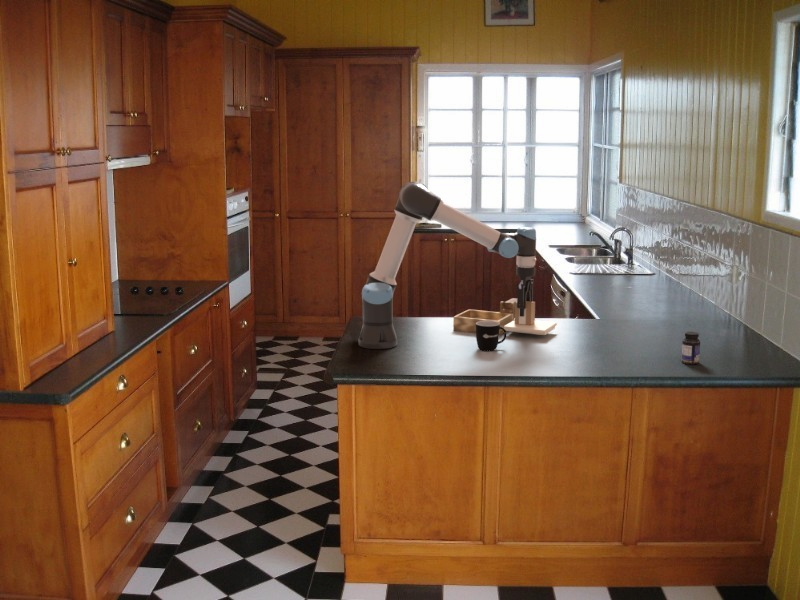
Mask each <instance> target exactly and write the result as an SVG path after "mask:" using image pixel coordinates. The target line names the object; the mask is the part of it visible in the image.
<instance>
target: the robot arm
mask: <svg viewBox="0 0 800 600" xmlns="http://www.w3.org/2000/svg"><path fill="white" fill-rule="evenodd" d="M394 213H395V217H394V220H393V223H392V224H391V225H392V226H391V228H390V231H389V233H388V236H387V238H386V241H385V244H384V246H383V248H382V251H381V254H380V257H379V259H378V262H377V265H376V266H375V269H374V271H372V272H370V273H369V275H368V276H367V279H366V283H365V284H364V286H363V287H362V289H361V300H362V327H361V331H360V332H359V337H358V346H359V347H361V348H364V349H368V350H369V349H371V350H386V349H391V348H394V347H396V346H398V338H397V333H396V331H395V328H394V323H393V321H394V320H393V319H394V317H393V315H394V314H393V313H394V311H393V308H394V307H393V302H394V300H393V298H394V292H395V290H396V287H397V284H398V283H397V281H396V277H397V274H398V272H399V269H400V266H401V264H402V262H403V259H404V257H405V253H406V251H407V249H408V246H409V244H410V241H411V238H412V235H413V233H414V231H415V227H416V224H417V223H419V222H422V220H423V219H426V220H427V221H430V222H431V221H436V222H437V223H440V225H441V224H442V225H443V226H445V227H447V228H449V229H451V230H452V231H455V232H457V233H459V234H460V235H463V236H464V237H466V238H469V239H471V240H472V241H474V242H476V243H478V244H480V245H482V246H484V247H486V248H487V251H488V252H490V253H492V252H493V253H497V254H499V255H500V256H501V257H503V258H506V259H511V258H514V257H515V256H516V261H515V262H516V273H515V274H516V276H517V277H520V279H519V281H518V283H517V284H516V288H517V294H516V295H517V308H519V324H526V308H525V305H526V301H532V302H534V301H533V300H534V299H533V298H534V297H533V296H534V282H535V281H534V278H532V277H535V276H536V267H535V266H536V261H537V258H536V251H537V231H536V229H535V228H534V227H527V226H524V227H522V226H521V227H518V228H517V230H516V232H510V233H509V232H500V231H499V230H497V229H495V228H493V227H491V226H489V225H488V224H485V223H483V222H482V221H480V220H478V219H476V218H474V217H472V216H470V215H468V214H467V213H465V212H463V211H461V210H459V209H457V208H455V207H453V206H452V205H449V204H447V203H445V202H444V201H443V198H442V197H441V196H438V195H436V194H435V193H433V192H432V191H431V190H430V189H429V188H428V187H427V186H426V185H425V184H424V183H421V181H409V182H407V183H405V184H404V185H402V187H401V189H400V190H399V193H398V199H397V201H396V205H395V208H394Z"/></svg>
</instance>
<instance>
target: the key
mask: <svg viewBox="0 0 800 600" xmlns="http://www.w3.org/2000/svg"><path fill="white" fill-rule="evenodd" d="M513 302H514V303H515V302H517V298H516V297H515V298H514V297H512V298H510V299H508V300H506V301H504V304H503V309H509V310H511V303H513ZM514 309H515V304H514Z"/></svg>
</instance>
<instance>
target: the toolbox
mask: <svg viewBox="0 0 800 600" xmlns="http://www.w3.org/2000/svg"><path fill="white" fill-rule="evenodd" d="M504 304H505V301H503V300H502V301H500V303H499V311H491V310H490V311H488V310H481V309H480V310H478V309H467V310H465V311H462V312H461V313H458V314H456V315H455V316H453V326H452V327H453V330H452V331H453V332H460V333H467V334H468V333H469V334H470V333H471V334H476V323H477V322H480V321H494V322H498V323H499V324H500V327H502V328H504V326H505V325H507V324H508V323H510V322H512V321H514V320H515V308H514V304H515V303H514V302H513V303H511V309H508V308H504ZM503 334H504V331H503V330H502V329H500V330H499V337H500V336H501V335H503Z"/></svg>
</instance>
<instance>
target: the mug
mask: <svg viewBox="0 0 800 600" xmlns="http://www.w3.org/2000/svg"><path fill="white" fill-rule="evenodd" d="M500 329H502V330H503V331H504V333H503V334H504V336H503V337H502V339H501V340H500V341H499V339H500V336H499V330H500ZM475 336H476V337H475V338H476V344H477V348H478V350H479V351H481V350H482V351H481V352H494V351H496V350H497V347H498V346H499V344H501V343H504V341H505V340H506V338H507V331H505V329H504V328H502V327H500V324H499V323H498V322H494V321H480V322H477V323H476V333H475Z"/></svg>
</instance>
